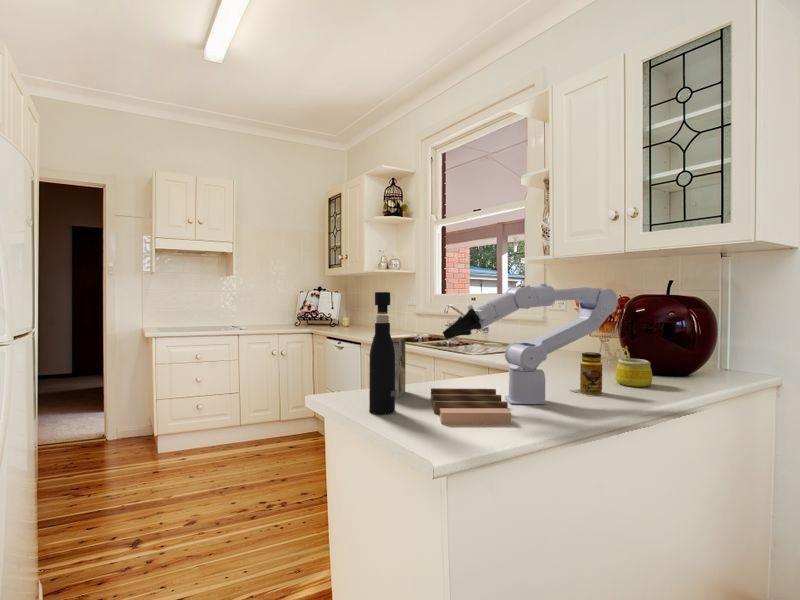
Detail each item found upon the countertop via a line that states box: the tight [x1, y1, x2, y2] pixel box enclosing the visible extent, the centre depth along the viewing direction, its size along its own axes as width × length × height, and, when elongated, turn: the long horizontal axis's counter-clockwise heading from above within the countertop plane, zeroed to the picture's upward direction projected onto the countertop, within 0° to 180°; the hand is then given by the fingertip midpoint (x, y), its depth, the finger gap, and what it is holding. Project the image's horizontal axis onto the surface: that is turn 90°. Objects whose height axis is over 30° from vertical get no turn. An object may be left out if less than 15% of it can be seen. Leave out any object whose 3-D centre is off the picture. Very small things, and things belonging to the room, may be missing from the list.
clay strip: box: [439, 408, 512, 425], centre depth 112 cm, size 16×4×3 cm, turn 91°
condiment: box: [569, 351, 609, 397], centre depth 145 cm, size 7×8×12 cm
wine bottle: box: [368, 291, 396, 416], centre depth 121 cm, size 6×6×30 cm
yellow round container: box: [614, 345, 653, 388], centre depth 157 cm, size 13×11×12 cm
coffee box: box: [391, 337, 406, 399], centre depth 141 cm, size 9×6×16 cm
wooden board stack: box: [430, 387, 509, 415], centre depth 127 cm, size 18×16×3 cm
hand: (447, 333), depth 127 cm, fingers open, 7 cm apart
